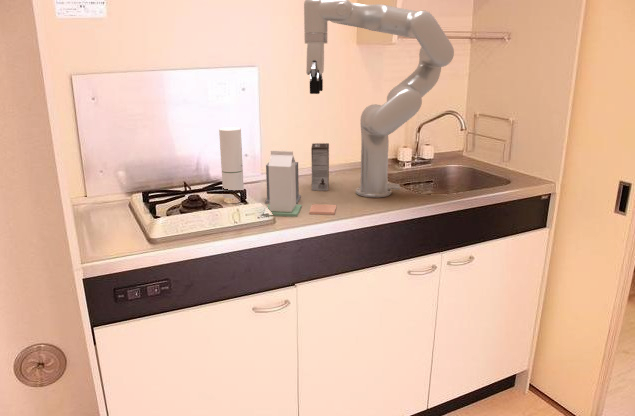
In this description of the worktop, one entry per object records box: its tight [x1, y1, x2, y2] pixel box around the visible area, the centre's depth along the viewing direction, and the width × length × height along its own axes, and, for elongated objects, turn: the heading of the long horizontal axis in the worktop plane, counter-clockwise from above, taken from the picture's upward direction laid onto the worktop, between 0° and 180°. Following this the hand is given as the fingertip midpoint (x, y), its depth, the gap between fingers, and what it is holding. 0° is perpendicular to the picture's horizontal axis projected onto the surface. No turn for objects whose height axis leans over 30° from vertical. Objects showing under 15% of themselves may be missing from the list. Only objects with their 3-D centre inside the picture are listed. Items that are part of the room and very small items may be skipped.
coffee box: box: [311, 142, 330, 192], centre depth 199 cm, size 9×6×16 cm
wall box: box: [265, 161, 302, 205], centre depth 183 cm, size 11×8×13 cm
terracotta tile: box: [308, 203, 337, 216], centre depth 174 cm, size 8×8×1 cm
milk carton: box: [268, 150, 297, 212], centre depth 171 cm, size 7×7×19 cm
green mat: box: [266, 203, 303, 218], centre depth 174 cm, size 11×10×1 cm
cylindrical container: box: [218, 126, 245, 198], centre depth 182 cm, size 7×7×25 cm
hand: (316, 92), depth 180 cm, fingers open, 9 cm apart
